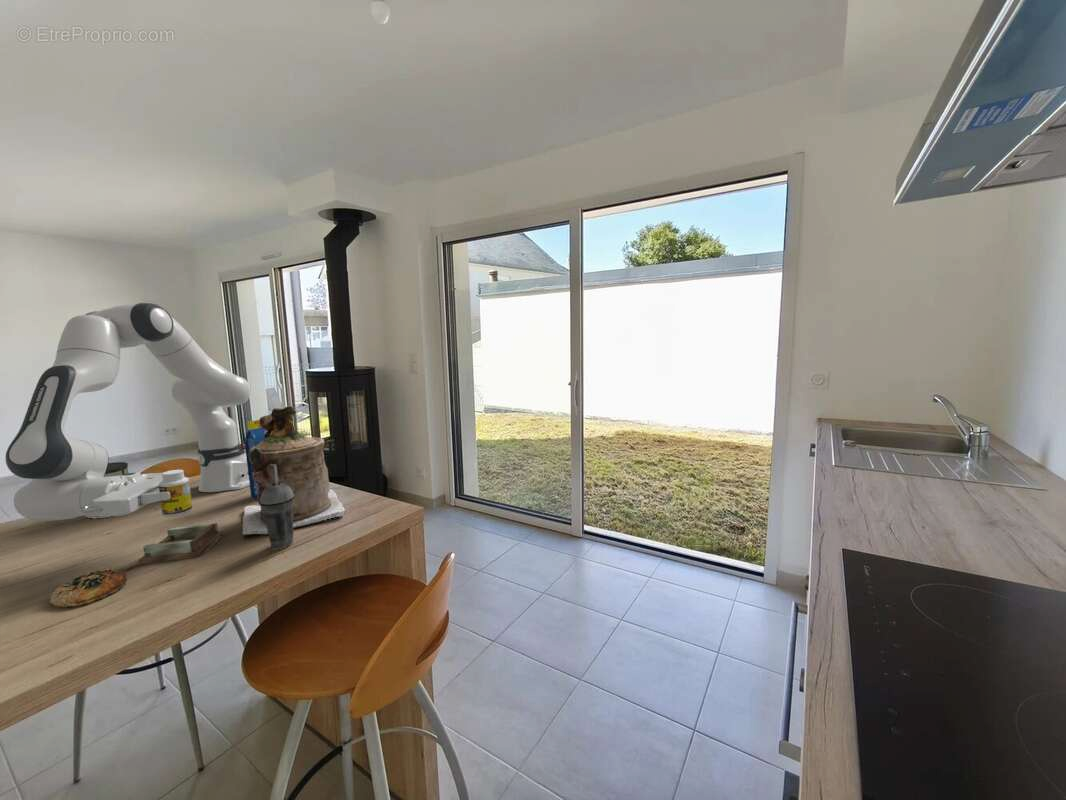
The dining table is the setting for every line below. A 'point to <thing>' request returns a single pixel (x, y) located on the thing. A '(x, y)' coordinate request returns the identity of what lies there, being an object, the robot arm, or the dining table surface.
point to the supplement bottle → (175, 493)
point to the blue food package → (251, 440)
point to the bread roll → (88, 588)
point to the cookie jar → (291, 473)
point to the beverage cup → (278, 513)
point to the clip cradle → (182, 543)
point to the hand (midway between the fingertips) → (179, 490)
